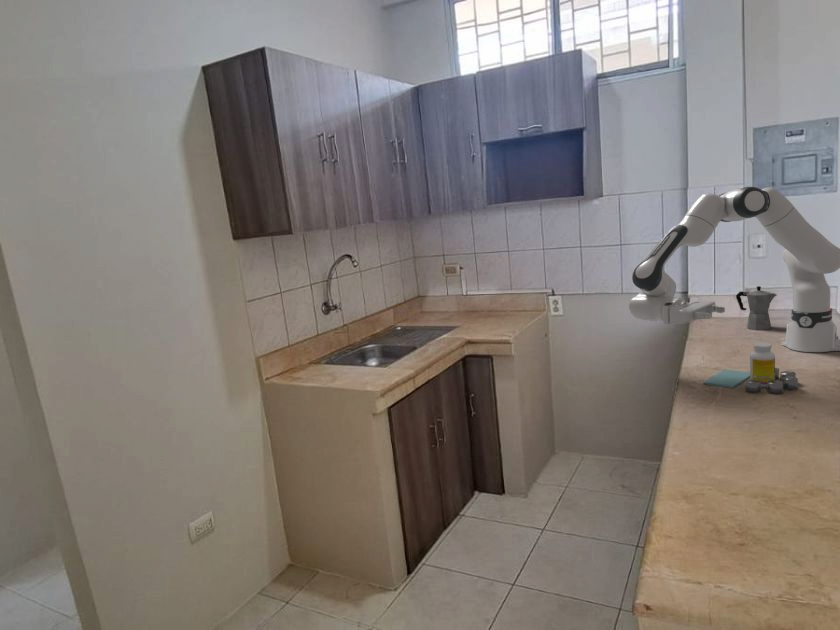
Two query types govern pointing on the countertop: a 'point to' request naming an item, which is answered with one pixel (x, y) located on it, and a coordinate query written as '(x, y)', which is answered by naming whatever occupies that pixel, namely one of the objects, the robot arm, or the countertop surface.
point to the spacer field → (774, 383)
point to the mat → (728, 378)
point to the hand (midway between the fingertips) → (717, 312)
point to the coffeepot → (757, 308)
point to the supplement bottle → (762, 364)
